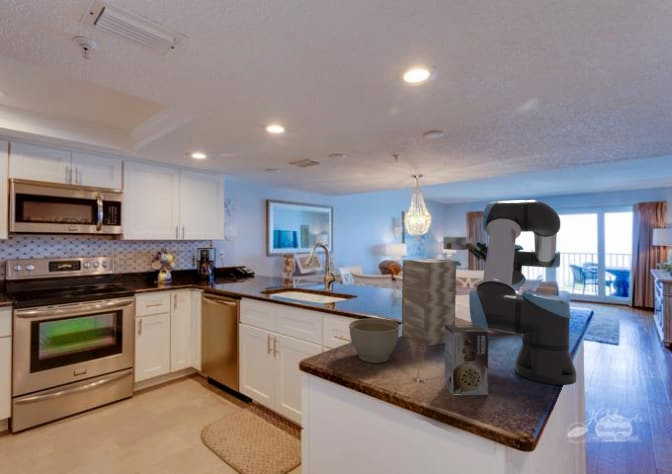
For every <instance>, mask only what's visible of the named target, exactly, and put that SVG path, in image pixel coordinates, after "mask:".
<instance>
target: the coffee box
mask: <svg viewBox="0 0 672 474" xmlns="http://www.w3.org/2000/svg"><path fill="white" fill-rule="evenodd" d="M445 385H446V386H445ZM444 386H445V388H446V389H447V388H448V389H449V390H450V391H451V392H450V391H449V390H448V389H447V390H448V391H449V392H450V394H451V393H452V394H469V395H468V396H488V395H489V330H488V331H487V330H485V329H483V328H482V327H480V326H479V325H473V324H455V325H445V343H444ZM452 394H451V395H452Z"/></svg>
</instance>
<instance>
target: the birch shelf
mask: <svg viewBox="0 0 672 474" xmlns="http://www.w3.org/2000/svg"><path fill="white" fill-rule="evenodd" d="M460 265H461V261H459V260H448V259H438V258H424V259H423V258H422V259H419V258H418V259H402V290H401V291H402V295H401V296H402V297H401V300H402V301H401V337H404V338H406V339H408V340H410V341H412V342H415V343H416V344H417V343H418V344H420V345H422V346H425V347H430V346H436V345H441V344H445V325H456V296H457V295H456V293H457V291H456V288H457V287H456V286H457V285H456V284H457V266H460Z"/></svg>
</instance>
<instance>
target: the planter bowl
mask: <svg viewBox="0 0 672 474" xmlns="http://www.w3.org/2000/svg"><path fill="white" fill-rule="evenodd" d="M400 326H401V325H400V324H399V323H398V322H396V321H392V320H388V319H380V318H362V319H361V318H360V319H356V320H353V321H351V322H349V323H348V328H349V336H350V341H351V344H352V346H353V348H354V350H355V351H356V352H357V354H358V358H359V359H360V360H361V361H363V362H366V363H373V364H378V363H384V362H385V363H386V362H388V360H390V355H391V354H392V353H393V351H394V350H395V347H396V346H397V343H398V339H399V331H400Z"/></svg>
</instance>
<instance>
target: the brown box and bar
mask: <svg viewBox="0 0 672 474" xmlns="http://www.w3.org/2000/svg"><path fill="white" fill-rule="evenodd" d="M466 237H467V236H465V237H462V236H459V237H458V236H443V245H442V246H443V249H442V250H446V251H447V250H449V251H450V250H451V251H466V250H473V249H476V248H475V247H474V246H473V245H472V244H470V243H466ZM480 243H481V242H480ZM481 244H482V245H483V244H486V245H487V243H485V242H482V243H481Z"/></svg>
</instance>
